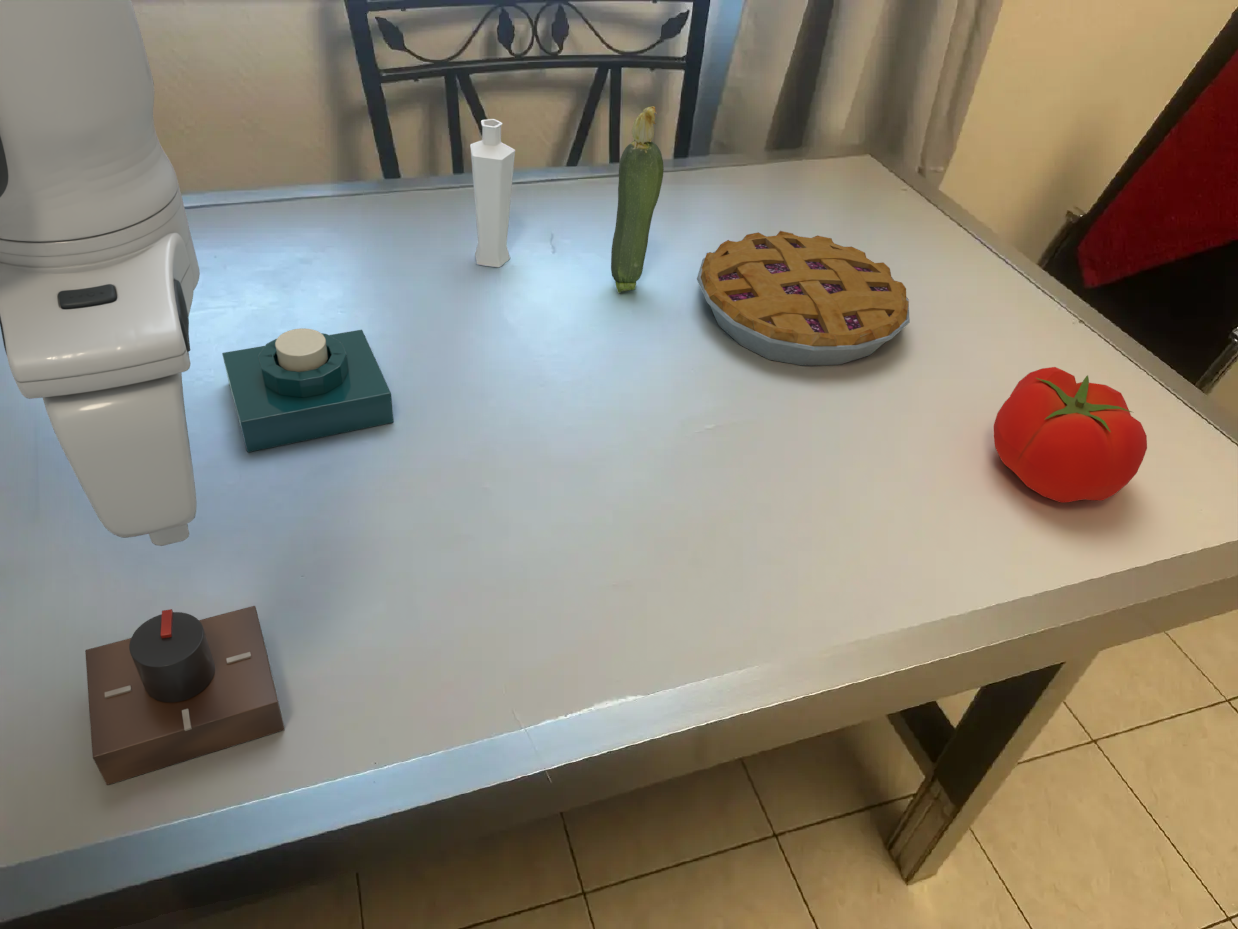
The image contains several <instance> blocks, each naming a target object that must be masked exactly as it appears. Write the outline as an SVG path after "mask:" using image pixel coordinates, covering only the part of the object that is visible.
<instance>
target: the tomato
mask: <svg viewBox="0 0 1238 929" xmlns="http://www.w3.org/2000/svg"><path fill="white" fill-rule="evenodd" d="M1131 413H1133V411H1131V410H1129V407H1128V404H1127V402H1126V400H1125V398H1124V396H1123V394H1122V392H1120V391H1118V390H1116V389H1115V388H1112V387H1111V386H1109V385H1107V384H1103V383H1096V382H1090V380H1089V375H1088V374H1087V375H1085V378H1083V379H1082V381H1080V382H1077V381H1076V377H1075V375H1073V374H1071V373H1069V372H1067V371H1065V370H1063V369H1062V368H1059V367H1056V366H1051V367H1043V368H1040V369H1036V370H1034V371H1031V372H1028V374H1026V375H1025V376H1024V377H1022V378H1021V379H1020V380H1019V381H1018V382H1017V384H1016V386H1015V387H1014V388H1013V390H1012V391H1011V393H1010V395H1009V397H1008V398H1007V399H1006V400H1005V401H1004V403H1003V404H1002V405H1001V407H1000V408H999V410H998V412H997V413H996V416H995V420H994V423H993V441H994V448H995V450H996V453H997V454H998V456H999V459H1000V461H1002V464H1003V465H1005V466H1006V467H1007V468H1008V469H1010V470H1011V471H1012V472H1013V473H1014V474H1015V475H1016V476H1017V477H1018V478H1019V480H1021V481H1022V483H1023V484H1024V485H1025V486H1026V487H1027V488H1029V489H1031V490H1032V491H1034V492H1036V493H1037V494H1039V495H1040V496H1042V497H1044V498H1046V499H1047V498H1048V499H1050V500H1052V501H1055V502H1058V503H1060V504H1061V503H1070V502H1077V501H1083V500H1087V501H1104V500H1106V499H1108V498H1110V497H1112V496H1115V494H1117V493H1118V492H1119V491H1120V490H1122V489H1124V488H1125V486H1127V485H1128V484H1129V482H1130V481H1131V480H1132V479H1133V478H1134V477H1135V476H1136V475H1137V474H1138V471H1139V469H1140V467H1141V466H1142V463H1143V461H1144V459H1145V455H1146V453H1147V450H1148V437H1147V436H1148V435H1147V433H1146V431H1145V429H1144V426H1143V424H1142V422H1140V421H1139V420H1138V419H1136V418H1135V417H1134V416H1132V414H1131Z"/></svg>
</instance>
